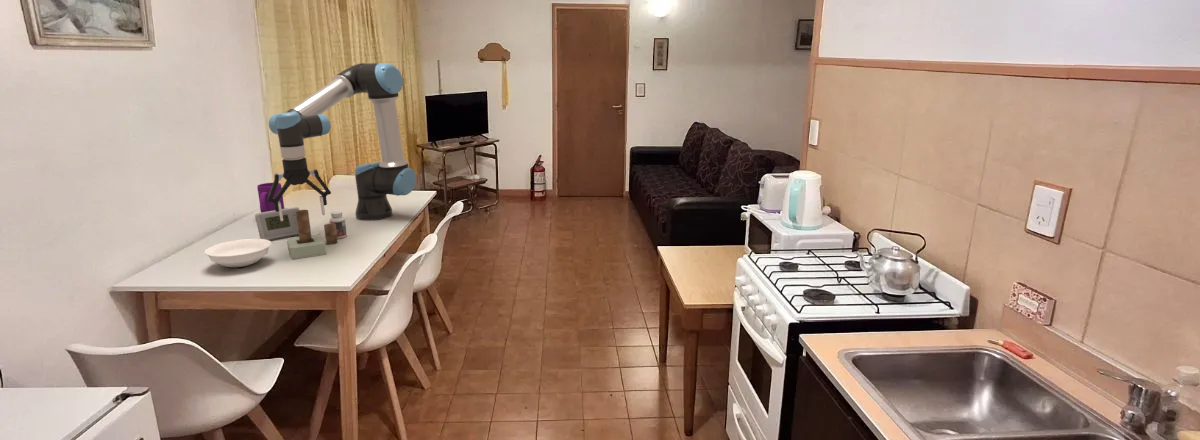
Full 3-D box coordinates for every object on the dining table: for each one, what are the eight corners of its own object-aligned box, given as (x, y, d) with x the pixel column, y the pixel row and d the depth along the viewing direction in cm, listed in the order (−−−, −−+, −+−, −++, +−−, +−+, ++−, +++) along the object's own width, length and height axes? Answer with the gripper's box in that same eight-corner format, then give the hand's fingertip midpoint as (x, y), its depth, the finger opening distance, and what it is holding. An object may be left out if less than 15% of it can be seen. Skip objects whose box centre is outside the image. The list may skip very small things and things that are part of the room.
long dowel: (312, 249, 231) (307, 209, 227) (313, 252, 228) (308, 211, 224) (300, 251, 229) (295, 210, 226) (301, 253, 226) (296, 212, 222)
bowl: (203, 278, 203) (199, 259, 201) (211, 260, 220) (208, 242, 219) (272, 269, 210) (269, 251, 209) (275, 252, 228) (273, 235, 226)
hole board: (320, 244, 237) (319, 234, 236) (326, 254, 225) (324, 243, 224) (288, 249, 232) (286, 238, 231) (291, 259, 220) (290, 248, 219)
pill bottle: (329, 239, 244) (326, 214, 241) (334, 235, 249) (331, 210, 247) (344, 238, 244) (341, 214, 242) (348, 234, 249) (346, 210, 247)
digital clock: (259, 243, 240) (255, 215, 237) (258, 237, 247) (253, 210, 245) (306, 236, 248) (302, 210, 245) (303, 231, 255) (300, 205, 253)
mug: (288, 215, 280) (284, 182, 276) (276, 224, 265) (271, 189, 262) (266, 216, 279) (261, 182, 275) (253, 225, 264) (247, 190, 260)
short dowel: (336, 240, 242) (334, 222, 240) (338, 243, 238) (336, 225, 237) (325, 242, 240) (323, 224, 238) (327, 244, 236) (324, 226, 235)
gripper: (330, 152, 229) (338, 209, 235) (252, 160, 217) (263, 220, 223) (334, 155, 223) (342, 214, 229) (253, 163, 211) (264, 225, 217)
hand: (303, 217), depth 226 cm, fingers open, 13 cm apart
